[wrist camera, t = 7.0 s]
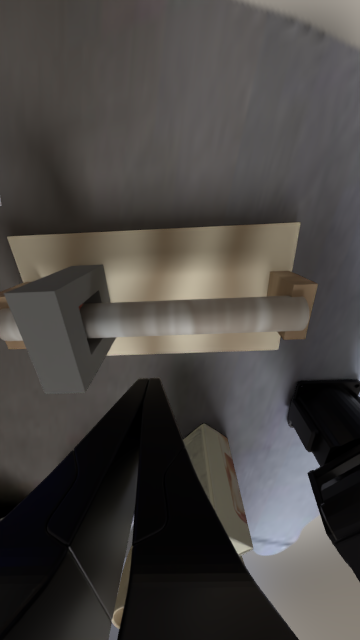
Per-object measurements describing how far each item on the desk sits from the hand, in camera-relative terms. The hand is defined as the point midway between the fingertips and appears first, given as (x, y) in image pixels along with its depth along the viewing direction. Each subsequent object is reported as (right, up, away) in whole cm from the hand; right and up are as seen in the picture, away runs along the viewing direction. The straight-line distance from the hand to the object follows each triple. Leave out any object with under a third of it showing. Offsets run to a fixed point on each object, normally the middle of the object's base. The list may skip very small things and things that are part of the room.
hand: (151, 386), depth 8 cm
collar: (-6, +4, +10) cm, 13 cm away
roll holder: (-1, +5, +10) cm, 11 cm away
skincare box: (+4, -12, +18) cm, 23 cm away
